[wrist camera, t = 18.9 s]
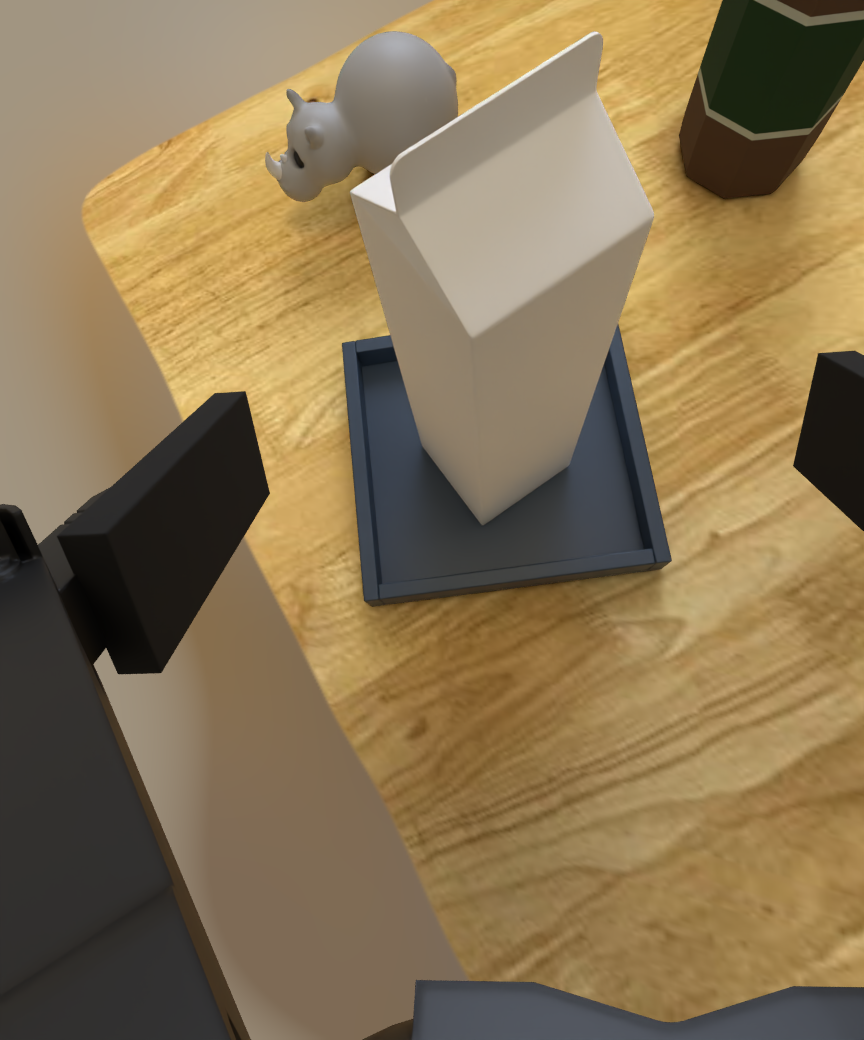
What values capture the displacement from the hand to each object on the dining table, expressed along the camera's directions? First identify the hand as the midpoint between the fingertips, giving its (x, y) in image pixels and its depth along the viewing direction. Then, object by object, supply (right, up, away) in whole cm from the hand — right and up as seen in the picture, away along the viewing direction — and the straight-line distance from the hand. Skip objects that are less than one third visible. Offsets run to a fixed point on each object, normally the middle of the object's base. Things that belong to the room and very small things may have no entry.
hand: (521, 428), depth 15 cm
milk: (+1, +1, +20) cm, 20 cm away
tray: (+1, +1, +21) cm, 21 cm away
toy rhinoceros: (-6, +20, +27) cm, 33 cm away
